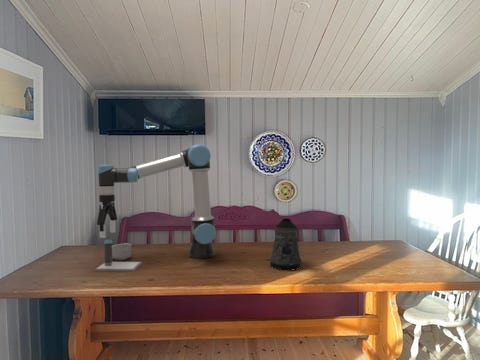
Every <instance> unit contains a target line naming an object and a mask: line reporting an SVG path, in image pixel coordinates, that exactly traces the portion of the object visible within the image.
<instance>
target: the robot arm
mask: <svg viewBox="0 0 480 360" xmlns="http://www.w3.org/2000/svg"><path fill="white" fill-rule="evenodd" d="M211 155H212V154H211V151H210V149H209V148H208V147H207V146H205V144H202V143H201V144H200V143H198V144H197V143H196V144H194V145H192V146H191V147H189V148H186V149H184V150H181V151H179V153H177V154H174V155H171V156H170V155H169V156H166V157H163V158H158V159H156V160H155V159H154V160H152V161H147V162H144V163H141V164H140V163H139V164H137V165H133V166H130V167H127V168H126V167H125V168H124V167H122V168H119V167H118V168H117V167H115V166H114V164H100V165H98V173H97V174H98V193H99V195H98V202H99V203H101V204H99V209H98V215H97V219H96V220H97V221H96V222H97V223H96V224H97V226H98V231H99V232H98V233H99V239H100V238H101V239H104V238H105V239H106V238H107V237H106V234H107V233H106V224H105V222H106V220H107V216H108V217H109V218H110V220H109V232H110V233H116V232H117V231H116V221H117V220H118V215H117V211H116V207H115V202H116V200H115V199H116V198H115V197H116V196H115V192H116V191H115V184H116V183H117V184H118V183H123V184H124V183H127V184H128V183H137V182H138V181H139V179H142V178H143V179H144V178H147V177H150V176H154V175H157V174H160V173H164V172H167V171H170V170H171V171H172V170H174V169H178V168H182V167H183V168H188V170H189V172H191V175H192V176H191V177H192V190H193V200H194V201H193V202H194V216H193V217H191V221H190V224H191V244H190V246H189V249H188V257H190V258H193V259H209V258H212V257H214V256H215V249H214V247H213V241H215V239H216V236H217V230H216V227H215V217H214V216H213V215H212V212H211V198H210V197H211V196H210V186H209V171H210V170H211V161H210V160H211ZM208 257H209V258H208Z"/></svg>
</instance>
